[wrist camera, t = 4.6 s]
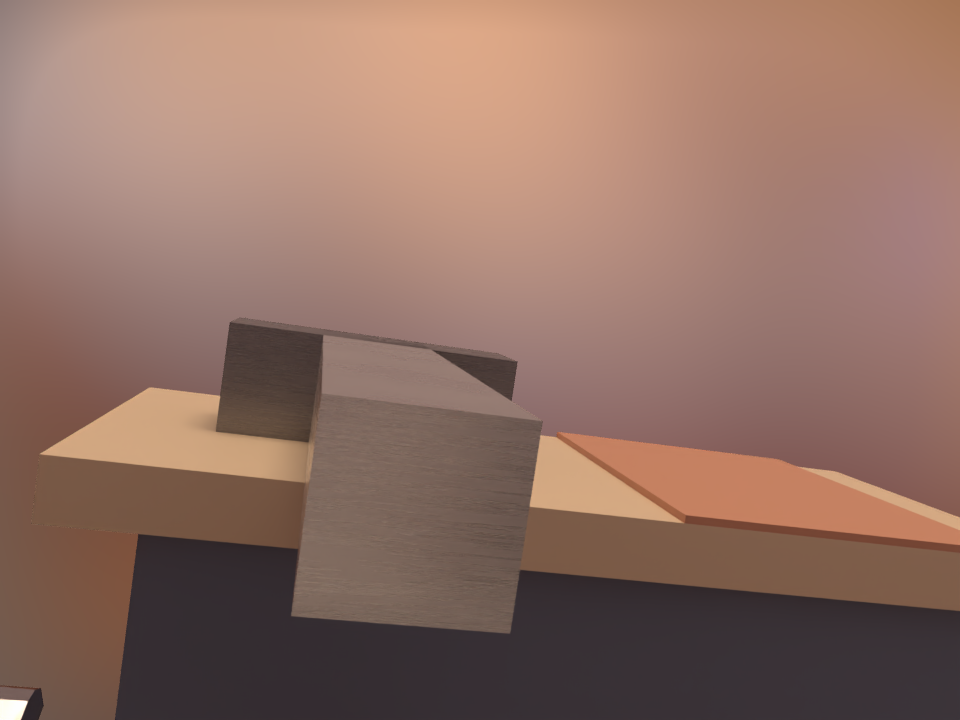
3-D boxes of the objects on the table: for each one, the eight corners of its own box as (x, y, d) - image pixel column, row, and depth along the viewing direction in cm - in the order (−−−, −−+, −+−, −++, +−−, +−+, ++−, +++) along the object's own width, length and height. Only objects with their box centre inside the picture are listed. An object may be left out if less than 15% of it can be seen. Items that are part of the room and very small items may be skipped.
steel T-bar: (91, 600, 11) (121, 367, 11) (227, 415, 27) (240, 317, 27) (678, 647, 13) (712, 442, 13) (483, 445, 28) (497, 353, 28)
